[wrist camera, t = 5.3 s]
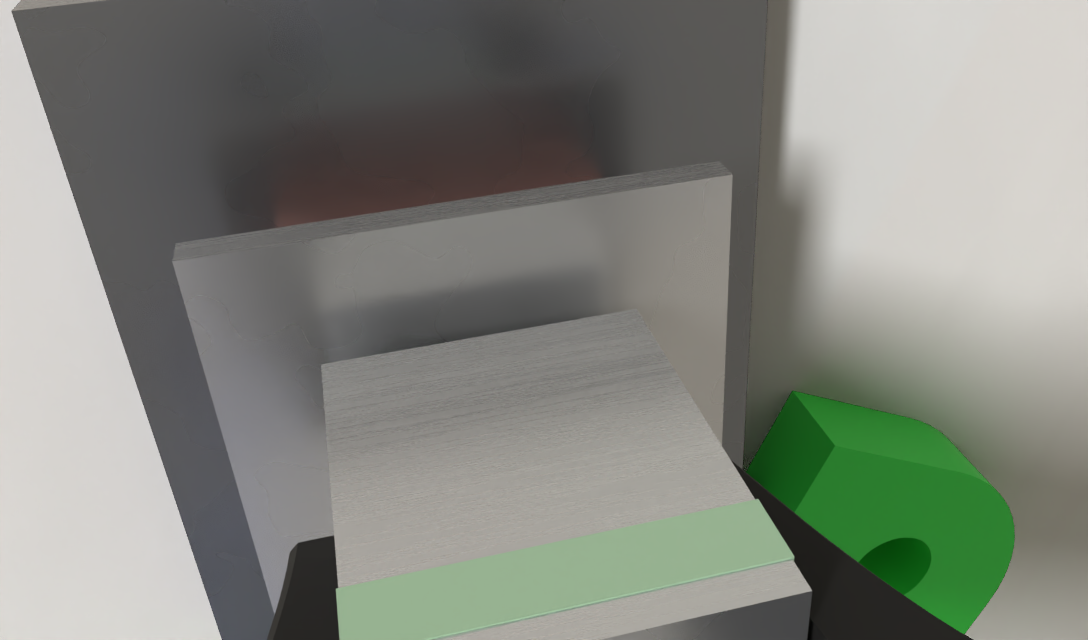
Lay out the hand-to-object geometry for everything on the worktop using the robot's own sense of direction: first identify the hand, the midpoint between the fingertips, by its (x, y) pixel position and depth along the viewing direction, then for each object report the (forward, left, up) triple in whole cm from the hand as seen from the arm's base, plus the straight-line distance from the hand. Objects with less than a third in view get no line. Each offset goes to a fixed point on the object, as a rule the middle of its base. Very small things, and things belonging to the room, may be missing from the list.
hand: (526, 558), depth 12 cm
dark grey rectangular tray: (0, 0, -6) cm, 6 cm away
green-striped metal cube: (0, 0, -2) cm, 2 cm away
